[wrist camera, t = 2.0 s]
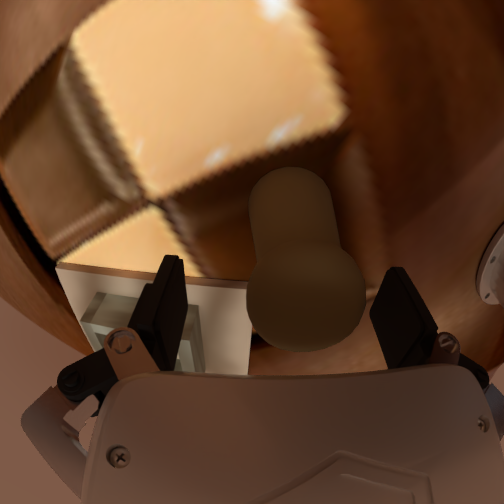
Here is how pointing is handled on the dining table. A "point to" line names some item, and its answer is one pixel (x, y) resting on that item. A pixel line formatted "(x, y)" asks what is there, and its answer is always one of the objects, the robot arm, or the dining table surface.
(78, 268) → the holder
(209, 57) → the dining table surface
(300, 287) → the brown rounded lobed piece
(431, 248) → the dining table surface
